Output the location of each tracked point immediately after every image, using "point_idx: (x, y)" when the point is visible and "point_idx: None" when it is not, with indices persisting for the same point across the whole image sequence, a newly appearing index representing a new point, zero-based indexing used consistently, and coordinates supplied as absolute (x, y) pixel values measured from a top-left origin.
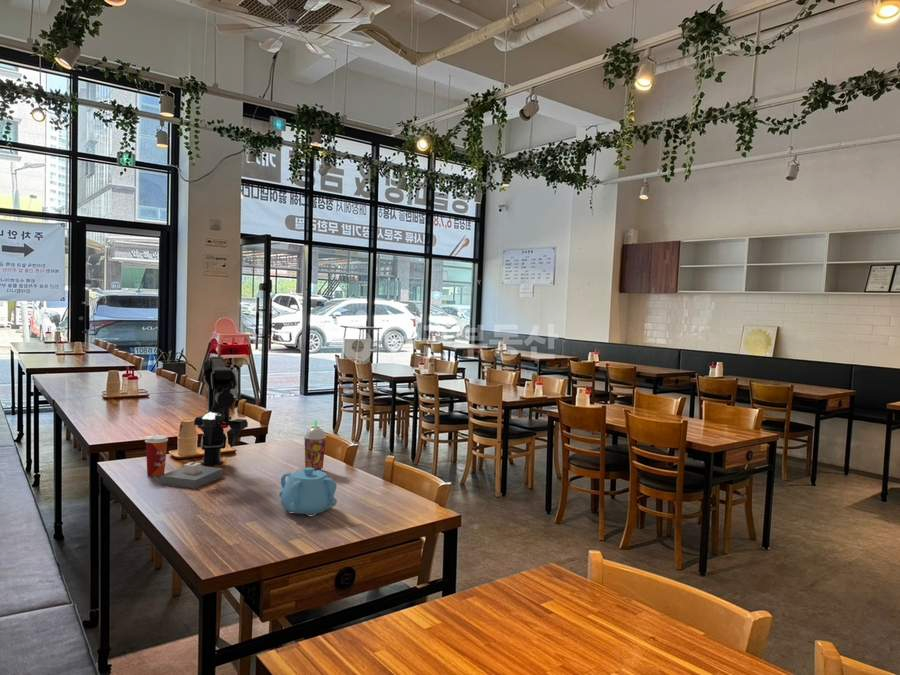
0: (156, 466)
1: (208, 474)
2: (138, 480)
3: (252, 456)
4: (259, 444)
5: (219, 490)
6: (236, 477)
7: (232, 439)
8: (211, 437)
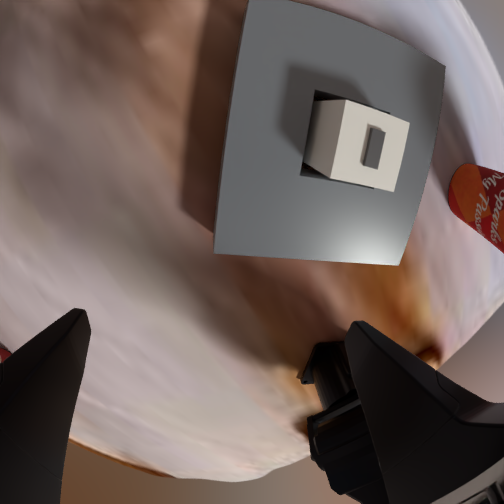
0: (489, 174)
1: (231, 110)
2: (483, 117)
3: (243, 431)
4: (273, 467)
5: (114, 26)
6: (143, 241)
7: (8, 357)
8: (363, 400)
